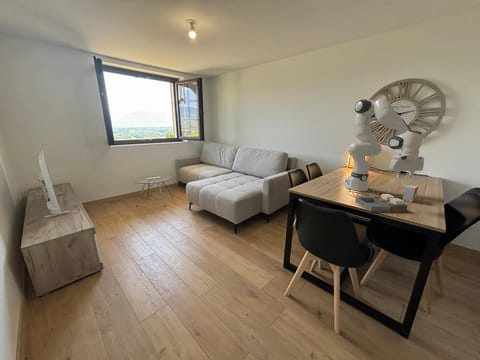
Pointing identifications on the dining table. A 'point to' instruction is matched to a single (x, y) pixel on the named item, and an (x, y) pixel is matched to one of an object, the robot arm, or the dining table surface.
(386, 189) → the dining table surface
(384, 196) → the tile
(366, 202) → the bin
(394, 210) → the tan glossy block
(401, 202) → the tile
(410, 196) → the small box
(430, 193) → the dining table surface
